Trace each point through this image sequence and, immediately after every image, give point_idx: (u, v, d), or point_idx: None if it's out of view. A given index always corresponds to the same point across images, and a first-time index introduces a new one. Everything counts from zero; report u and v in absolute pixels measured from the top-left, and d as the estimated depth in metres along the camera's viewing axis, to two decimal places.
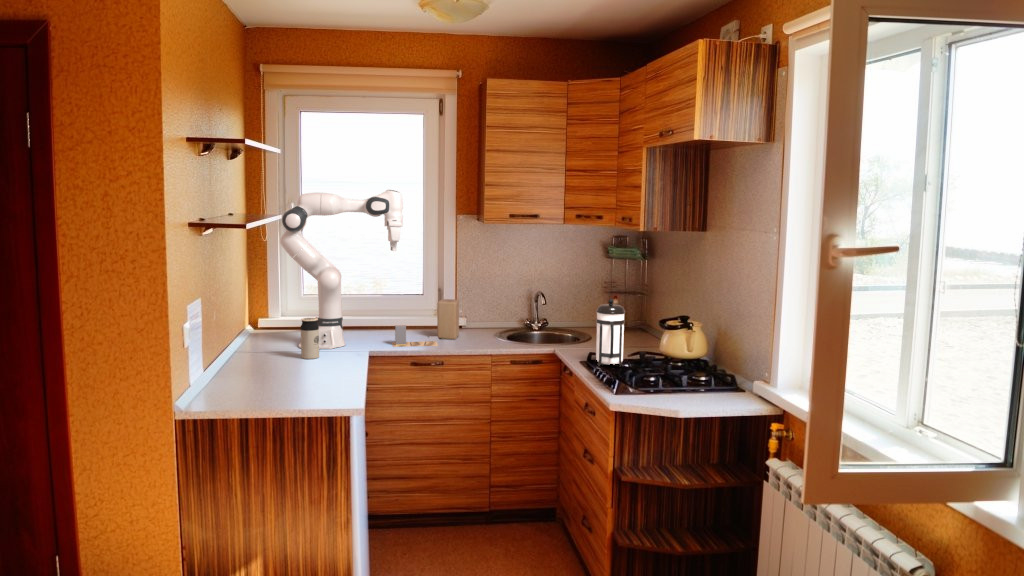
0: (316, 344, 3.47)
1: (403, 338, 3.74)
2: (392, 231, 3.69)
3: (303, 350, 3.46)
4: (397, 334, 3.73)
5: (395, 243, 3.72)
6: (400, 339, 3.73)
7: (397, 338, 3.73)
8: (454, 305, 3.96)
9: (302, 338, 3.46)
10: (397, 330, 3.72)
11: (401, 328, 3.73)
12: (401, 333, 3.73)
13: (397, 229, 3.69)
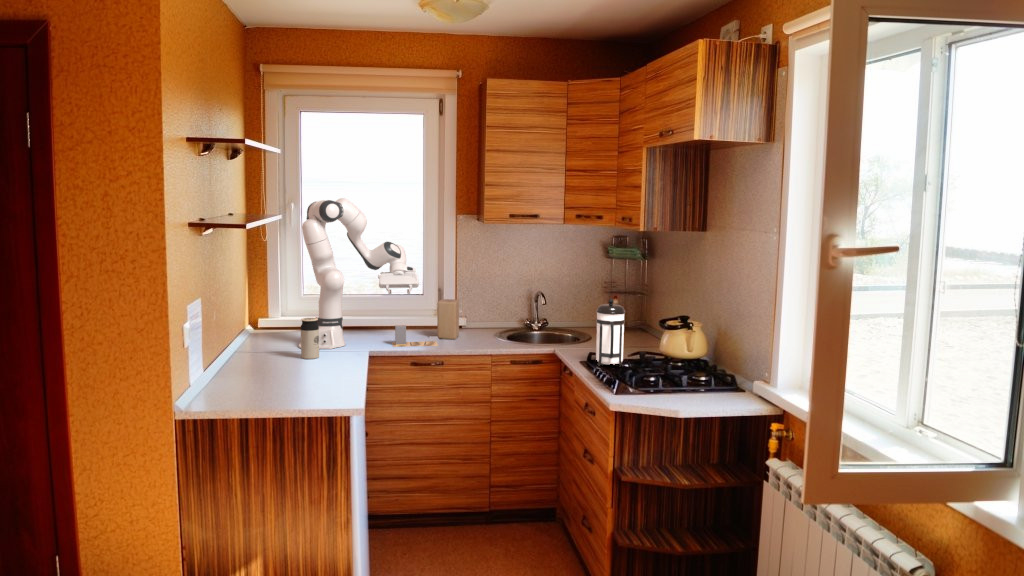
0: (316, 344, 3.47)
1: (403, 338, 3.74)
2: (417, 276, 3.93)
3: (303, 350, 3.46)
4: (397, 334, 3.73)
5: (411, 287, 3.90)
6: (400, 339, 3.73)
7: (397, 338, 3.73)
8: (454, 305, 3.96)
9: (302, 338, 3.46)
10: (397, 330, 3.72)
11: (401, 328, 3.73)
12: (401, 333, 3.73)
13: None
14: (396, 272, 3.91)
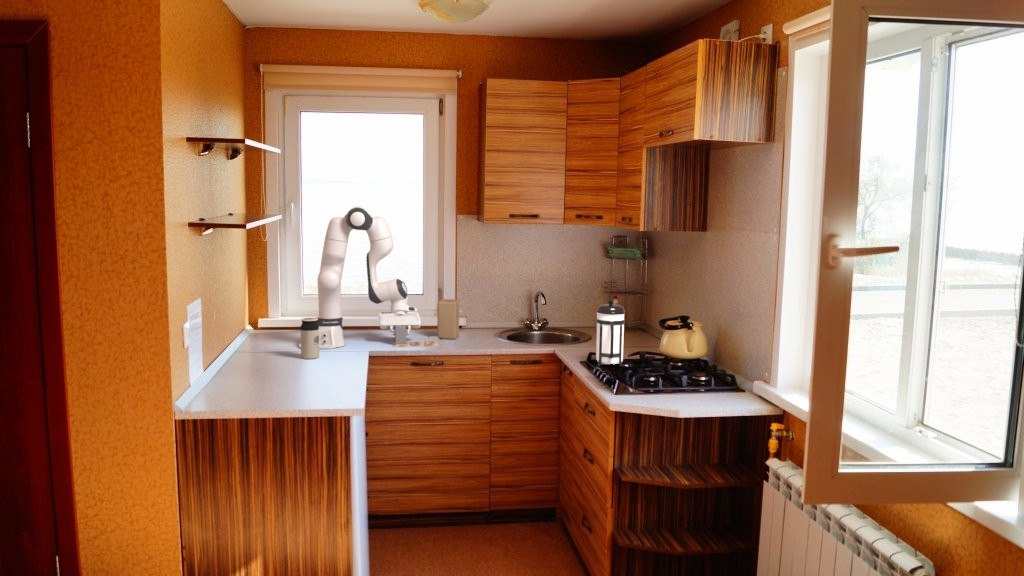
0: (316, 344, 3.47)
1: (403, 338, 3.74)
2: (419, 316, 3.82)
3: (303, 350, 3.46)
4: (397, 334, 3.73)
5: (410, 328, 3.78)
6: (400, 339, 3.73)
7: (397, 338, 3.73)
8: (454, 305, 3.96)
9: (302, 338, 3.46)
10: (397, 330, 3.72)
11: (401, 328, 3.73)
12: (401, 333, 3.73)
13: None
14: (397, 312, 3.79)
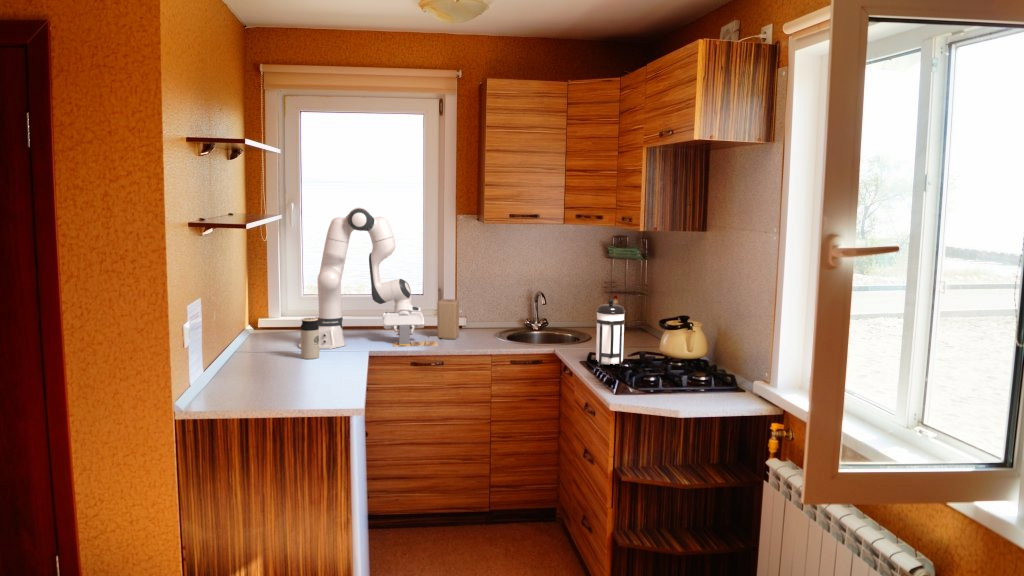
0: (316, 344, 3.47)
1: (407, 338, 3.74)
2: None
3: (303, 350, 3.46)
4: (401, 334, 3.73)
5: None
6: (404, 339, 3.74)
7: (401, 338, 3.73)
8: (454, 305, 3.96)
9: (302, 338, 3.46)
10: (401, 330, 3.73)
11: (405, 328, 3.73)
12: (405, 333, 3.73)
13: None
14: (401, 312, 3.80)
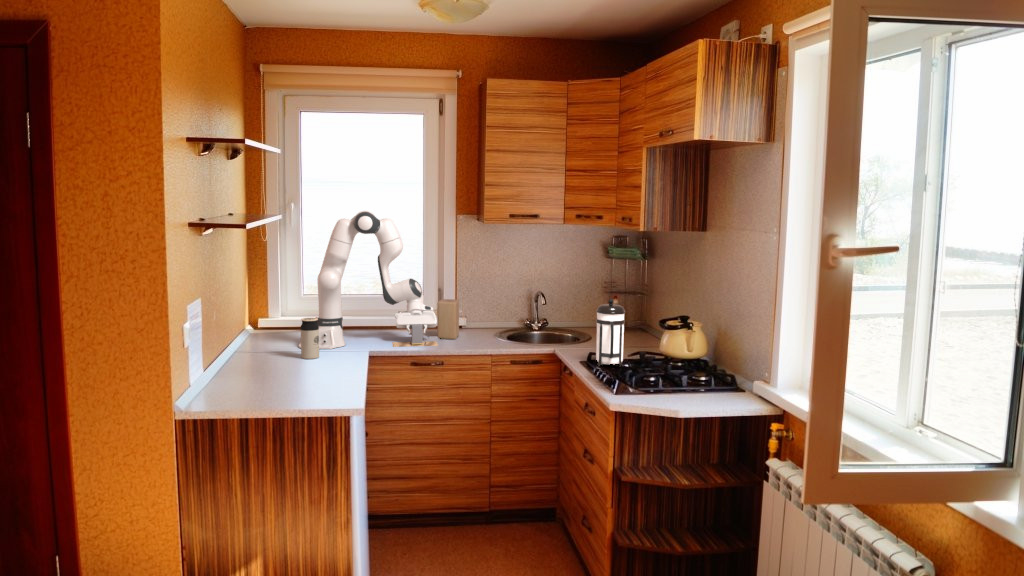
0: (316, 344, 3.47)
1: (420, 337, 3.75)
2: None
3: (303, 350, 3.46)
4: (414, 333, 3.74)
5: (426, 327, 3.80)
6: (417, 338, 3.75)
7: (414, 337, 3.74)
8: (454, 305, 3.96)
9: (302, 338, 3.46)
10: (414, 329, 3.74)
11: (418, 327, 3.74)
12: (418, 332, 3.75)
13: None
14: (414, 312, 3.81)
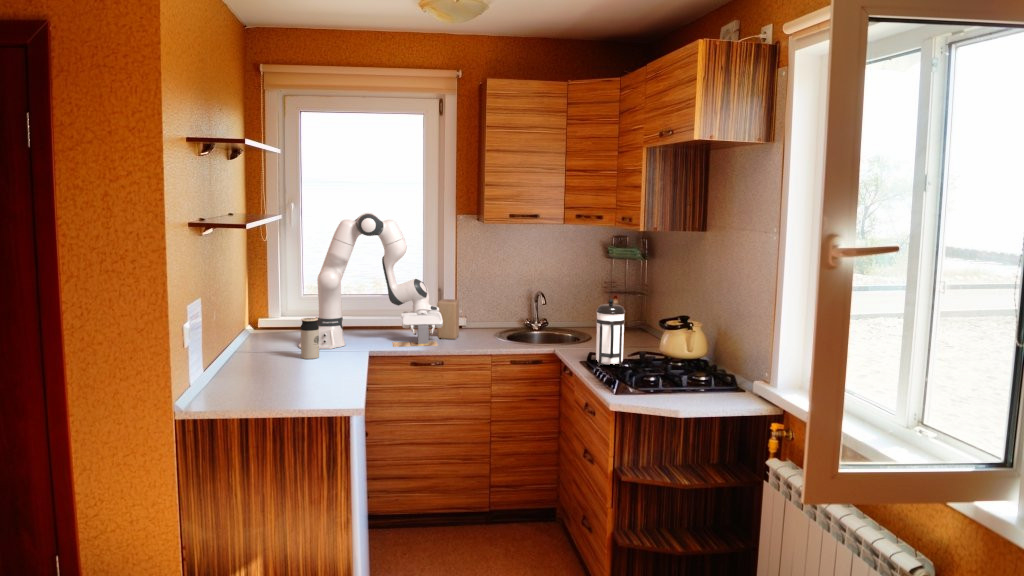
0: (316, 344, 3.47)
1: (426, 338, 3.76)
2: None
3: (303, 350, 3.46)
4: (420, 333, 3.75)
5: (434, 327, 3.81)
6: (423, 339, 3.75)
7: (420, 337, 3.75)
8: (454, 305, 3.96)
9: (302, 338, 3.46)
10: (420, 329, 3.75)
11: (424, 327, 3.75)
12: (424, 332, 3.75)
13: None
14: (420, 312, 3.81)
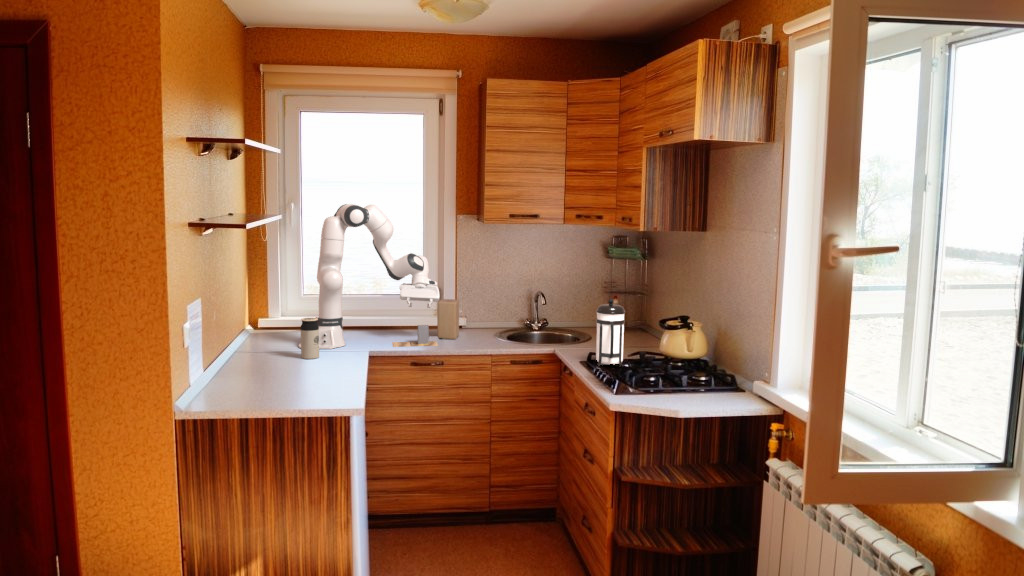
0: (316, 344, 3.47)
1: (426, 338, 3.76)
2: (438, 290, 3.93)
3: (303, 350, 3.46)
4: (420, 333, 3.75)
5: (432, 301, 3.91)
6: (423, 339, 3.75)
7: (420, 337, 3.75)
8: (454, 305, 3.96)
9: (302, 338, 3.46)
10: (420, 329, 3.75)
11: (424, 327, 3.75)
12: (424, 332, 3.75)
13: None
14: (418, 285, 3.91)
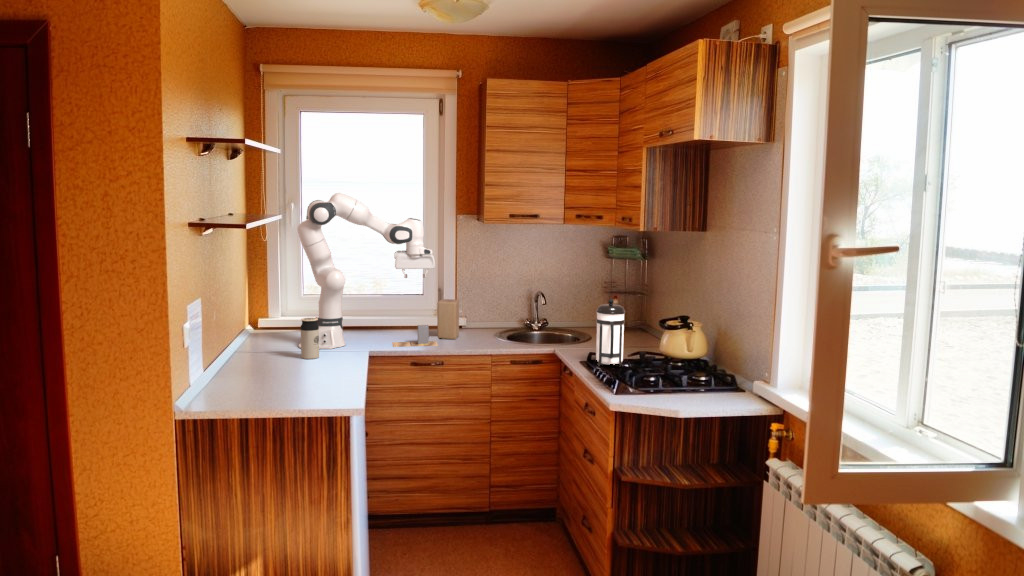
0: (316, 344, 3.47)
1: (426, 338, 3.76)
2: None
3: (303, 350, 3.46)
4: (420, 333, 3.75)
5: (427, 270, 3.88)
6: (423, 339, 3.75)
7: (420, 337, 3.75)
8: (454, 305, 3.96)
9: (302, 338, 3.46)
10: (420, 329, 3.75)
11: (424, 327, 3.75)
12: (424, 332, 3.75)
13: None
14: (413, 256, 3.82)
